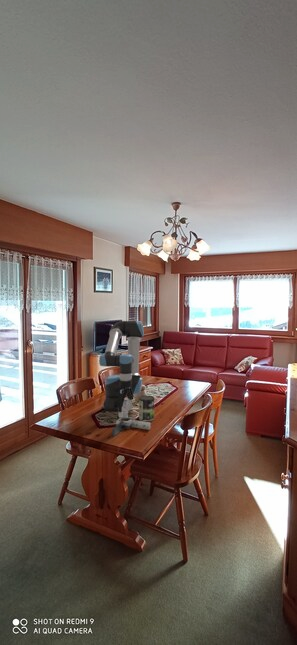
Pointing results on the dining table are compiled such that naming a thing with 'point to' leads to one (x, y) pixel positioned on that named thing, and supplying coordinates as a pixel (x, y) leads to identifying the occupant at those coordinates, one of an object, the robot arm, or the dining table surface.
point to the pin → (125, 410)
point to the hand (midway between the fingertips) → (125, 413)
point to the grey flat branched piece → (129, 425)
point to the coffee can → (146, 408)
